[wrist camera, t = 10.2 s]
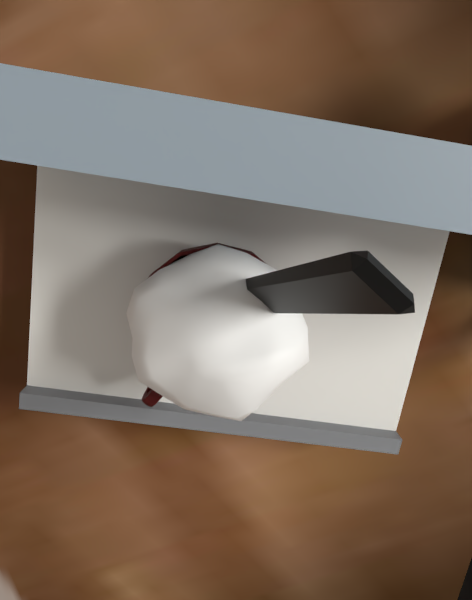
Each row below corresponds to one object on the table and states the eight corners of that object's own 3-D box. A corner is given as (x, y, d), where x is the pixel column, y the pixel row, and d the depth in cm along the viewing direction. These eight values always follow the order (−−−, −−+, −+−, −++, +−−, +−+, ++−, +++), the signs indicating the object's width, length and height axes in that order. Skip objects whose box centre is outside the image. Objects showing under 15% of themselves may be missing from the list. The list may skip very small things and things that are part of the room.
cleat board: (431, 181, 22) (658, 178, 11) (372, 415, 26) (500, 607, 14) (64, 119, 21) (-123, 41, 10) (49, 374, 24) (-106, 549, 13)
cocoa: (168, 391, 22) (103, 646, 11) (101, 280, 20) (-66, 439, 9) (349, 308, 21) (496, 492, 9) (293, 182, 19) (389, 220, 8)
